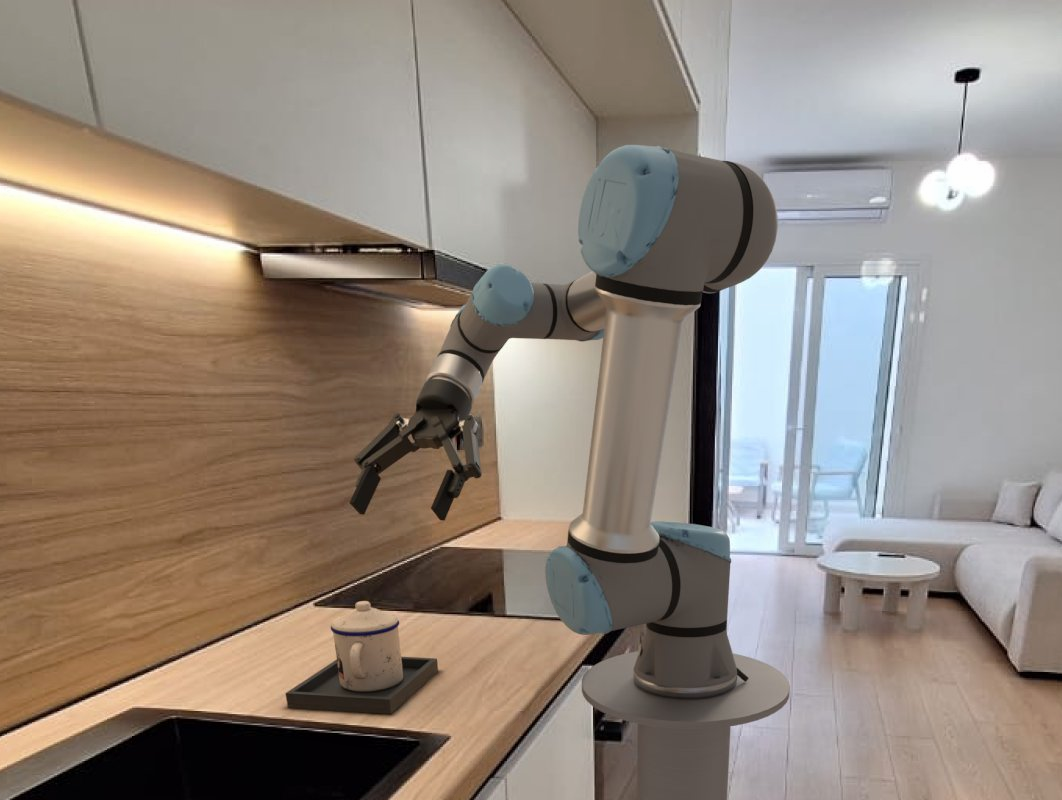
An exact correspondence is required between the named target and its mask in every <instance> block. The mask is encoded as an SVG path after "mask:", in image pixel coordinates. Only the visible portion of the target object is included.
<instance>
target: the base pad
mask: <svg viewBox="0 0 1062 800" xmlns="http://www.w3.org/2000/svg"><path fill="white" fill-rule="evenodd" d="M401 660H402V669H403V679H402V681H401V682H400V683H398V684H397V685H395V686H393V687H390V688H387V689H383V690H378V691H370V692H358V691H351V690H348V689H345V688H344V687H342V686H341V684H340V679H339V671H338V664H337V658H336V659H334V660H333V661H332V662H330V663H329V664H327V665H326V666H325V667H323V668H321V669H320V670H318V671H317V672H315V673H314V674H312V675H310V676H309V677H308V678H306V679H305V680H303V681H301V682H300V683H298V684H297V685H296V686H294V687H293V688H291V689H290V690H288V691H286V692H285V699H286V706H287V708H288V709H302V710H318V711H319V710H320V711H335V712H350V713H365V714H366V713H367V714H381V715H382V714H383V715H392V714H394V712H395V711H397V709H398V708H400V707H401V706H402V705H403V704H404V703H406V702H407V701H408V700H409V699H410V698H411V697H412V696H413V695H414V694H415V693H417V692H418V690H420V689H421V688H422V687H423V686H424V685H426V683H427V682H429V681H430V680H431V679H432V678H433V677H434V676H435V675H436V674H437V673H438V672H439V665H438V658H435V657H418V656H417V657H415V656H401Z"/></svg>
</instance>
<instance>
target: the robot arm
mask: <svg viewBox="0 0 1062 800" xmlns="http://www.w3.org/2000/svg"><path fill="white" fill-rule="evenodd" d="M580 203H581V204H580V207H579V213H578V224H577V237H578V243H579V244H580V245H581V248H580V254H581V257H582V259H583V261H584V263H585V265H586V266H587V267H588V268H589V269H590V270H591V271H590V272H588V273H586V274H584V275H582V276H580V277H579V278H577V279H574V280H572V281H571V282H569V283H565V284H556V283H541V282H531V281H530V280H529V278H528V277H527V276H526V275H525V273H524V272H522V271H521V270H520V269H516V268H514V267H513V266H512V265H510V264H504V263H499V264H495V265H493V266H491V267H489V268H488V269H487V270H486V271H485V273H484V274H483V275H482V276H481V278H480V279H478V280H477V282H476V283H475V285H474V286H473V290H472V292H471V294H470V295H469V297H468V299H467V301H466V303H465V304H463V305H462V306H461V307H460V309H459V310H458V312H457V313H456V314H455V315H454V318H453V319H452V320H451V323H450V328H449V330H448V333H447V334H446V336H445V339H444V341H443V343H442V346H441V348H440V350H439V353H438V355H437V356H436V358H435V360H434V362H433V364H432V366H431V368H430V370H429V373H427V376H426V378H425V382H424V383H423V386H422V388H421V389H420V392H419V394H418V396H417V398H416V401H415V412H414V414H413V415H412V416H411V417H409V418H407V417H402V415H401V414H400V413H399V412H397V413H395V414H394V415H393V416H392V418H391V419H390V421H389V423H388V424H387V425H386V426H385V427H384V428H383V429H382V430H381V431H380V432H379V433H378V434H377V435H376V436H375V437H374V438H373V439H372V440H371V441H370V442H369V443H368V444H367V445H366V446H365V447H364V448H363V449H362V450H361V451H360V452H358V454H357V455H356V456H355V457H354V459H353V462H355V464H356V465H357V466H358V467H359V469H360V470H361V471H360V473H359V475H358V478H357V479H356V481H355V490H354V492H353V494H352V496H351V498H350V501H349V504H350V505H351V506H352V507H353V509H354V510H355V511H356V512H357V513H358V514H359V515H362V516H363V515H365V514H366V511H367V509H368V507H369V505H370V503H371V501H372V499H373V497H374V494H375V493H376V491H377V488H378V486H379V484H380V481H381V479H382V478H381V476H380V474H381V473H382V472H384V471H386V470H388V468H390V467H391V466H392V465H394V464H396V462H398V461H400V460H401V459H402V458H404V457H405V456H407V455H408V454H409V453H416V452H417V451H418V450H420V449H423V450H424V449H433V450H440V449H441V448H442V447H443V449H444V452H445V454H446V455H447V457H448V459H449V462H450V464H451V465H450V466H451V467H452V469H446V471H445V474H444V477H443V479H442V481H441V484H440V486H439V488H438V491H437V493H436V495H435V497H434V500H433V501H432V504H431V506H430V509H431V510H432V512H433V513H434V515H435V516H436V517H437V518H438V520H439V521H444V522H445V521H446V519H447V516H448V514H449V511H450V509H451V507H452V504H453V502H454V499H458V498H459V496H460V495H461V492H462V491H463V488H464V485H465V483H466V482H467V481H469V479H470V478H474V479H476V480H477V479H480V478H481V477H482V475H483V472H482V465H481V457H480V456H481V455H480V448H479V441H478V438H479V435H480V431H481V427H480V426H479V424H478V422H477V421H476V419H475V418H474V416H473V415H472V414H471V411H472V408H473V405H474V404H475V401H476V399H477V397H478V395H479V392H480V390H481V388H482V385H483V384H484V381H485V378H486V376H487V373H488V371H489V370H490V367H491V365H492V363H493V362H494V360H495V358H496V357H497V355H498V354H499V353H500V351H501V350H503V347H504V346H505V345H506V343H507V342H508V341H509V340H510V339H527V340H531V339H532V340H558V341H559V340H560V341H561V340H562V341H563V340H564V341H577V342H580V343H581V342H583V343H584V342H589V341H599V340H601V339H602V346H601V355H600V363H599V369H598V378H597V388H596V396H595V404H594V414H593V420H592V421H593V422H592V431H591V439H590V446H589V456H588V463H587V464H588V466H587V472H586V473H587V474H586V482H585V490H584V497H583V498H584V500H583V508H582V513H581V514H579V515H578V516H577V517H575V518H574V519H573V520H572V521H570V523H569V525H568V530H567V540H566V545H561V546H560V545H559V546H557V547H556V548H554V549H553V550H552V551H550V553H549V554H548V556H547V558H546V561H545V571H544V573H545V584H546V589H547V594H548V597H549V600H550V601H551V602H550V603H551V605H552V606H553V609H554V611H555V612H556V614H557V616H558V618H559V619H560V621H561V622H562V623H563V625H565V626H566V627H567V628H568V629H569V630H570V631H572V632H573V633H575V634H578V635H581V636H589V635H597V634H603V635H605V634H609V633H610V632H612V631H617V630H622V629H627V628H631V627H636V626H640V625H645V633H644V635H643V639H642V642H640V643H639V646H638V649H637V651H638V652H639V654H638V657H637V660H636V663H635V666H634V683H635V685H636V686H637V687H638V688H639V689H641V690H643V691H645V692H647V693H649V694H652V695H656V696H660V697H665V698H671V699H686V700H691V699H705V698H712V697H716V696H720V695H723V694H726V693H728V692H730V691H731V690H733V689H734V688H735V687H736V685H737V675H738V676H739V677H740V678H741V679H742V680H744V681H745V682H746V681H747V680H748V678H749V677H747V676H746V675H745V674H744V673H743V672H741V671H740V670H739V669H738V668H737V667H736V664H735V660H734V657H733V650H732V647H731V646H732V645H731V643H730V640H729V635H728V615H729V614H728V612H729V611H728V610H729V593H730V576H731V575H730V574H731V564H732V558H731V541H730V536H729V535H728V534H727V533H726V532H725V531H724V530H722V529H720V528H717V527H712V526H707V525H702V524H696V523H686V522H677V521H665V520H664V521H663V520H662V521H661V520H660V521H658V520H657V521H652V516H653V509H654V503H655V499H656V498H655V496H656V490H657V485H658V480H659V479H658V478H659V473H660V466H661V461H662V456H663V449H664V444H665V437H666V431H667V425H668V419H669V412H670V407H671V400H672V394H673V390H674V389H673V388H674V382H675V377H676V370H677V364H678V359H679V352H680V347H681V339H682V335H683V328H684V322H685V321H686V319H687V318H688V317H689V316H690V315H692V314H693V313H694V312H696V311H697V310H698V309H699V308H700V307H701V304H702V297H703V294H704V293H705V294H715V293H719V292H721V291H724V290H726V289H729V288H731V287H734V286H737V285H739V284H742V283H744V282H745V281H748V280H749V279H751V278H752V277H754V275H756V274H757V273H759V271H760V270H761V269H762V268H763V266H764V265H765V264H766V263H767V261H768V260H769V258H770V256H771V254H772V252H773V250H774V247H775V244H776V241H777V234H778V228H779V224H778V223H779V221H778V220H779V217H778V216H779V215H778V211H777V206H776V202H775V198H774V196H773V194H772V191H771V190H770V188H769V187H768V185H767V183H766V182H765V181H764V180H763V178H761V176H760V175H758V174H757V172H755V171H754V170H753V169H751V168H749V167H748V166H746V165H744V164H741V163H738V162H735V161H729V160H720V159H715V158H711V157H707V156H701V155H697V154H692V153H689V152H684V151H680V150H675V149H670V148H666V147H662V146H661V145H657V146H655V145H654V146H653V145H641V144H625V145H621V146H618V147H617V148H615V149H613V150H611V151H610V152H609V153H608V154H607V155H606V156H604V158H602V160H601V162H600V163H599V165H598V166H597V167H596V168H594V171H593V172H592V174H591V176H590V178H589V180H588V182H587V185H586V187H585V190H584V192H583V196H582V198H581V202H580ZM461 432H462V440H463V447H464V457H465V464H464V462H463V461H462V458H461V456H460V454H459V451H458V450H457V447H456V445H455V443H454V441H453V439H455V438H456V437H457V436H458V435H459V434H460V433H461ZM409 436H411V439H412V440H413V441H414V442H412V441H411V440H410V438H409ZM453 470H454V471H453Z"/></svg>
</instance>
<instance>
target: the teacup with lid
mask: <svg viewBox="0 0 1062 800" xmlns="http://www.w3.org/2000/svg"><path fill="white" fill-rule="evenodd" d="M354 606H355V607H354V609H351V610H350V611H348V612H347V613H345V614H343V615H341V616H338V617H335V619H333V620H332V622H331V625H330V631H331V632H332V634H333V642H334V649H335V656H336V659H337V664H338V671H339V679H340V684H341V686H342V687H344V688H345V689H348V690H351V691H358V692H370V691H378V690H383V689H387V688H390V687H393V686H395V685H397V684H398V683H400V682H401V681H402V679H403V669H402V660H401V657H402V651H401V642H400V633H399V625H400V621H399V618H398V617H397V616H396V615H395V614H394V613H391V612H388V611H382V610H380V609H379V608H376V607H372V605H371V602H369V601H368V600H362V601H361V600H360V601H357V602H356V603H355V605H354Z"/></svg>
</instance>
